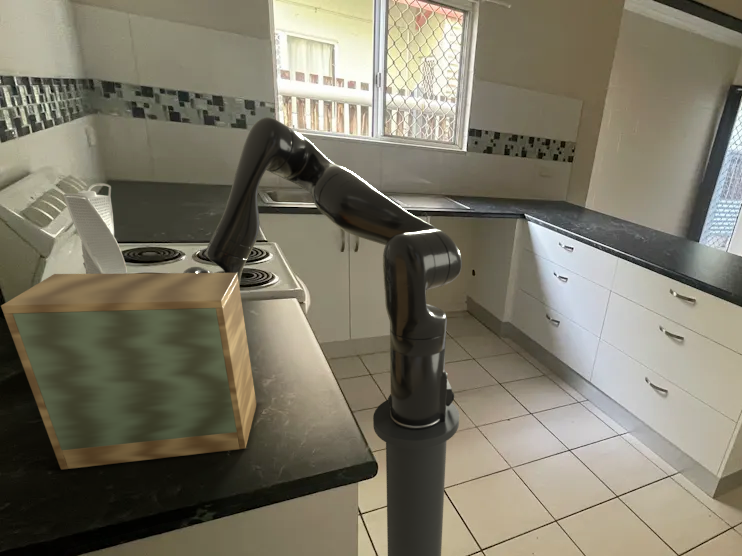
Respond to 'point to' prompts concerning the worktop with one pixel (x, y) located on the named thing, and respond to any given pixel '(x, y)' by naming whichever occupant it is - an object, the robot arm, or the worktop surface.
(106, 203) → the box grater
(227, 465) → the worktop surface
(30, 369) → the shelf unit
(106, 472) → the worktop surface
